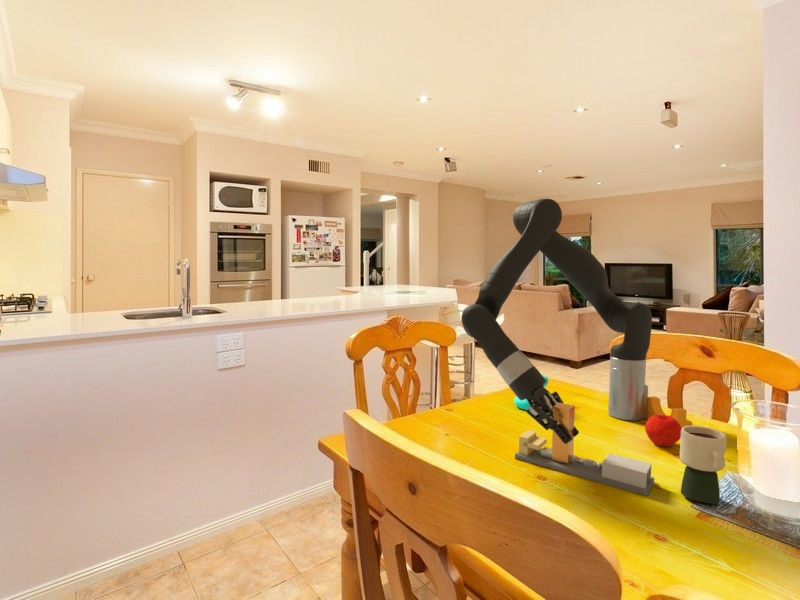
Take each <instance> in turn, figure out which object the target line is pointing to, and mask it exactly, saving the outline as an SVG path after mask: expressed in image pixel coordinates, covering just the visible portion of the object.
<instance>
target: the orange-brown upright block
mask: <svg viewBox="0 0 800 600" xmlns="http://www.w3.org/2000/svg"><path fill="white" fill-rule="evenodd" d="M575 407H576V405H573V404H570V403H569V404H568V403H564V402H563V403H558V404H556V405H555V406H553V410H554V411H555V413H556V414H555V415H556V417H557V418H558V419H559V421H560V422H561V424H562V425H563V426H564V427H565V428H566V430H567V431H568V432H569V433H570V434H571V436H572V437H573V439H572V440H571V441H570V442H568V443H567V444H565V443H563V441H562V440H561V439H560V438H559V436H558V435H557V434H556V433H555V431H554V430H552V437H551V439H552V440H551V442H552V443H551V448H550V447H547V446H544V447H542V448H543V449H542V450H541V456H545V457H548V458H552V460H555V461H559V462H563V463H566V464H568V463H569V462H574V463H580V464H584V463H585V466H589V467H592V468H594V467H595V468H599V469H602V462H599V461H595V460H593V459H589V458H584V457H579V456H577V455H574V445H575V444H574V442H575V437H574V426H575V417H576V416H575V414H576V412H575V410H576V409H575ZM561 424H560V425H561Z"/></svg>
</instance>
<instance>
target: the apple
mask: <svg viewBox="0 0 800 600" xmlns="http://www.w3.org/2000/svg"><path fill="white" fill-rule="evenodd" d="M644 429H645V430H644V431H645V433H646V435H647V438H648V439H649V441H650V442H652V444H654V445H655V446H660V447H671V446H673V445H675V444H677V442H678V441H680V440H681V429H682V428H681V426H680V424H679V423H678V422H677V420H676V419H674V418H673V417H670V415H667V414H665V415H654V416H652V417H650V418H649V419H647V421H646V422H645V424H644Z"/></svg>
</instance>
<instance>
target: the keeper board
mask: <svg viewBox="0 0 800 600" xmlns="http://www.w3.org/2000/svg"><path fill="white" fill-rule="evenodd" d="M518 437H519V438H518V441H519V442H518V451H517V452H516V453H515V454H514V459H515V460H516V459H517V460H519V461H523V462H526V463H530V464H533V465H536V466H540V467H544V468H547V469H550V470H554V471H556V472H557V471H558V472H561V473H565V474H568V475H572V476H574V477H575V476H576V477H579V478H582V479H586V480H589V481H593V482H596V483H600V484H604V485H607V486H611V487H614V488H617V489H620V490H624V491H627V492H630V493H631V492H632V493H636V494H639V495H642V496H645V497H648V496H649V494H650V492H651V490H652V488H653V486H654V483H655V477H653V476H652V463H651V462H646V461H643V460H640V459H639V460H638V459H634V458H631V457H627V456H621V455H618V454H614V453H608V454H607V455H606V456H605V458H604V459H603V460H602V462H601V463H602V469H599V468H595V467H594V468H592V467H589V466H585V463H584V464H580V463H574V462H569V463H568V464H566V463H563V462H559V461H555V460H552V458H548V457H545V456H541V450H542V449H543V448H544V447H543V446H544V445H547V438H545V437H541V436H538V435H537V431H534V430H530V429H528V430H526V431H524V432H523V433H522V434H521V435H519V436H518Z"/></svg>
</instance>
